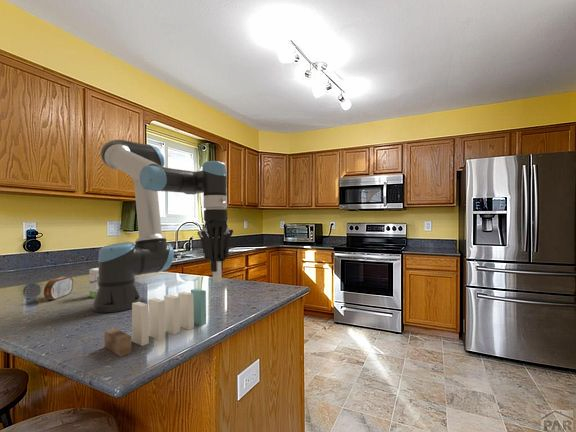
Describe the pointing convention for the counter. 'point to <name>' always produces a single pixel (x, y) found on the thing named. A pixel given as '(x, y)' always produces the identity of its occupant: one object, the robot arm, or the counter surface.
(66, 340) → the counter surface
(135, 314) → the ivory domino
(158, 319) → the ivory domino
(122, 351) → the walnut block
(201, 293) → the teal domino
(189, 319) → the ivory domino
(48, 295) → the tin
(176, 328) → the ivory domino
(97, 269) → the ink box
